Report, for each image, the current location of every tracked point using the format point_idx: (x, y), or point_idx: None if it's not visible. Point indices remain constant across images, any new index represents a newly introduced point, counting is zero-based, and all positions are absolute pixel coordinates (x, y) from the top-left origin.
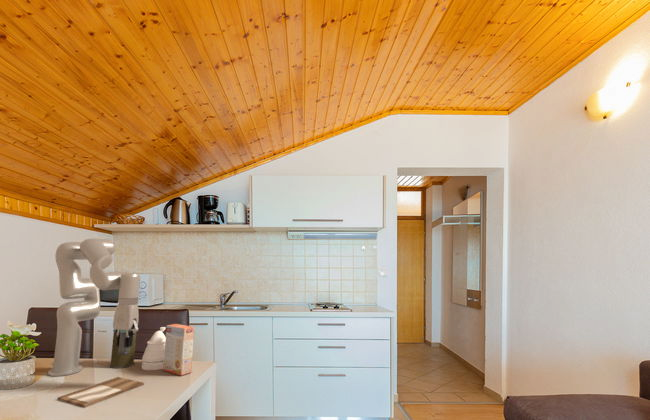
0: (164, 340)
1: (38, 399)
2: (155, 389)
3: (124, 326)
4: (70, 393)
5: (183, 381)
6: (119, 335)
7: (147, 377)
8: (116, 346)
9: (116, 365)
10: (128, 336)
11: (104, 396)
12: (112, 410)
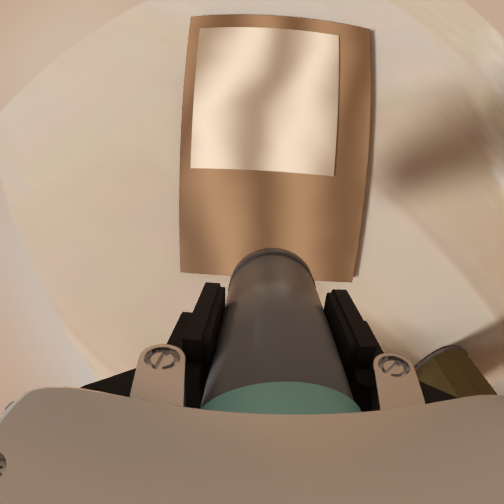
0: None
1: (425, 28)
2: (103, 248)
3: (88, 460)
4: (365, 67)
5: (93, 336)
6: (368, 374)
7: None
8: None
9: (441, 356)
10: (142, 356)
11: (194, 91)
12: (88, 59)
